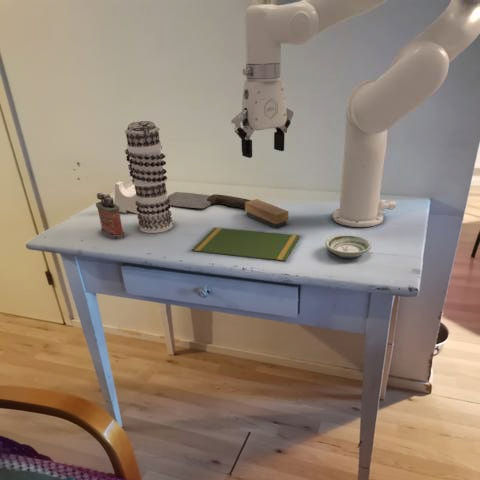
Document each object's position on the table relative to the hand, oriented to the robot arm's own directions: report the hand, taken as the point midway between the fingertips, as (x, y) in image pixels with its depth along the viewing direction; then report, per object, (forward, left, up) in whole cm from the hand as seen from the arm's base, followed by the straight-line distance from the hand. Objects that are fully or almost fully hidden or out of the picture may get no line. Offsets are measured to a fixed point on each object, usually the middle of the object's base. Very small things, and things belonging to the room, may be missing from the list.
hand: (263, 153), depth 109 cm
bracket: (+31, -25, -17) cm, 43 cm away
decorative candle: (+28, -6, -17) cm, 33 cm away
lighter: (+39, -5, -17) cm, 42 cm away
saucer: (-10, +26, -17) cm, 33 cm away
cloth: (+9, +13, -17) cm, 23 cm away
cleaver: (+12, -18, -17) cm, 27 cm away
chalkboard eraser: (0, 0, -17) cm, 17 cm away
